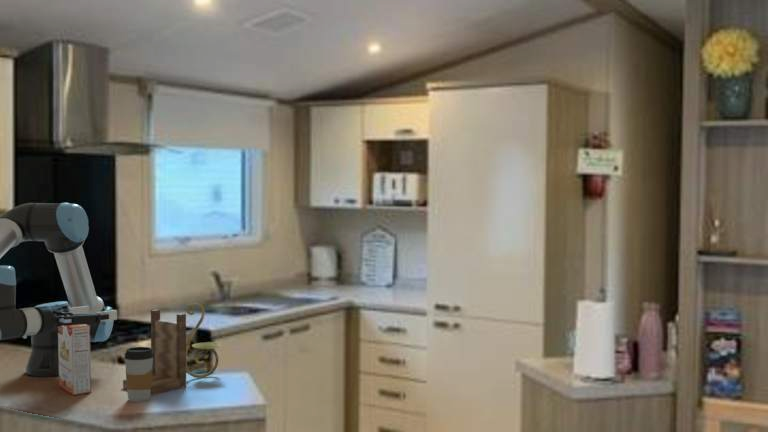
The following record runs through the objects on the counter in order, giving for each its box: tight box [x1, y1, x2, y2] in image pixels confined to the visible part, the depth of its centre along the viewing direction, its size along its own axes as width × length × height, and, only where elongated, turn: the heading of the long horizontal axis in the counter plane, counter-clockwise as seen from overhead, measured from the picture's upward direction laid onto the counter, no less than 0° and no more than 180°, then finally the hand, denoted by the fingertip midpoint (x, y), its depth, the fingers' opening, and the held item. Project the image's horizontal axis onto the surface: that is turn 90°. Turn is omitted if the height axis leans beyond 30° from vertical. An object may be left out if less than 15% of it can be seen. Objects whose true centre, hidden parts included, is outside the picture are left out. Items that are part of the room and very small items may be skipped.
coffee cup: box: [124, 346, 154, 403], centre depth 248 cm, size 8×8×15 cm
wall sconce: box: [186, 302, 222, 379], centre depth 275 cm, size 14×10×25 cm
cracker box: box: [58, 324, 92, 396], centre depth 258 cm, size 14×6×21 cm, turn 37°
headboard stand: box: [122, 309, 187, 396], centre depth 262 cm, size 14×13×23 cm
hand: (102, 312), depth 245 cm, fingers open, 13 cm apart
